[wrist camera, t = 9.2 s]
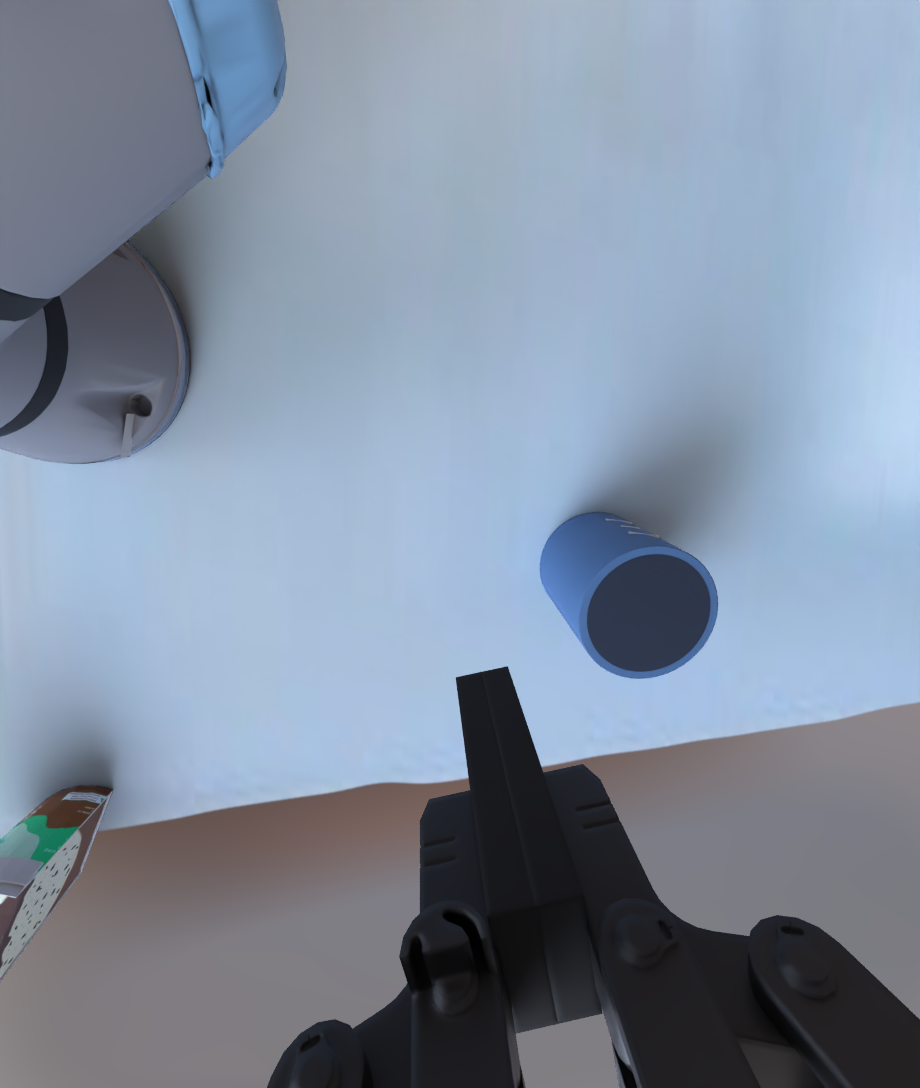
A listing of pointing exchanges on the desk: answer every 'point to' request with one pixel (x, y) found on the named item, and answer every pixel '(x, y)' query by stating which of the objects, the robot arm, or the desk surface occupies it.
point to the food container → (44, 863)
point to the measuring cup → (628, 595)
